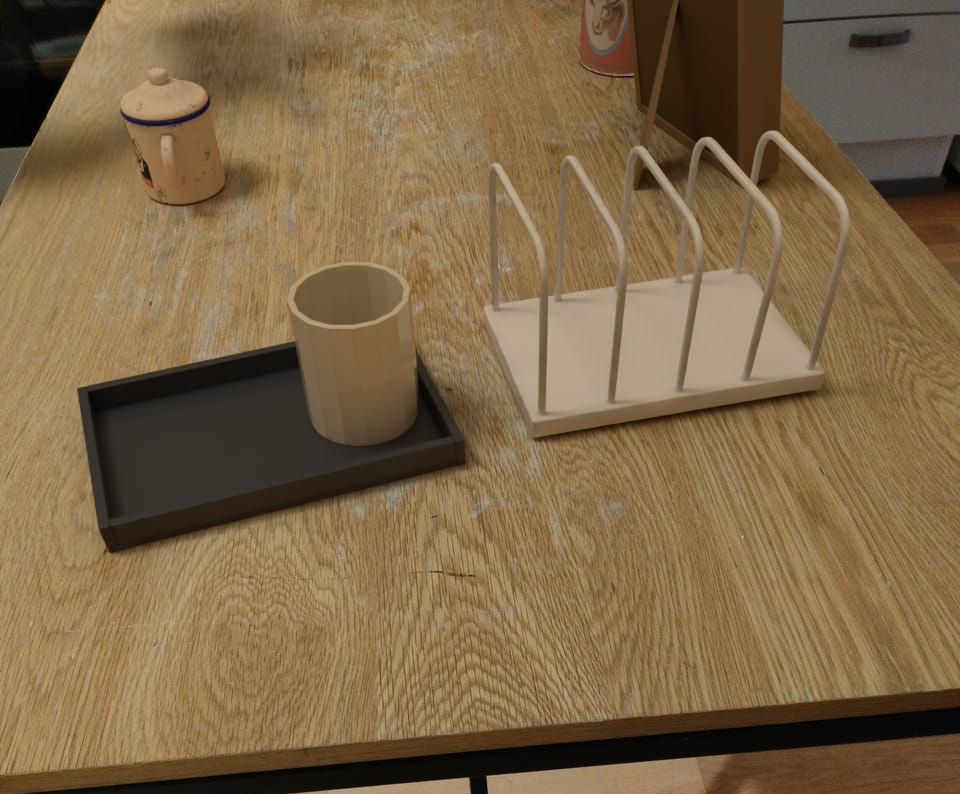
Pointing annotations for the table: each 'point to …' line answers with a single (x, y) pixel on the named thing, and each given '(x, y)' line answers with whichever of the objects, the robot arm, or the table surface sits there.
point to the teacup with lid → (173, 139)
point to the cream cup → (356, 351)
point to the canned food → (606, 36)
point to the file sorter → (653, 318)
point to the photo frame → (710, 75)
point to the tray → (235, 446)
